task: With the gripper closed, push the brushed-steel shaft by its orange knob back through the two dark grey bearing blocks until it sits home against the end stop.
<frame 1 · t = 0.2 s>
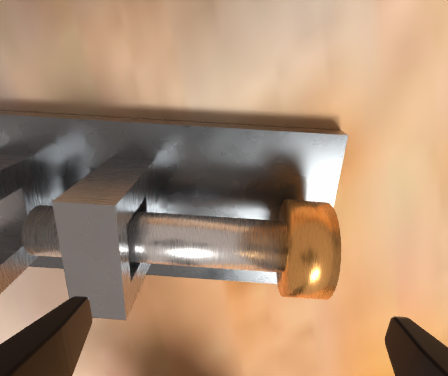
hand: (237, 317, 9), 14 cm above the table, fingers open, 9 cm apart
bearing frame: (141, 197, 24), on the table
shaft: (179, 239, 18), point 5 cm above the table, slide at 8.0 cm
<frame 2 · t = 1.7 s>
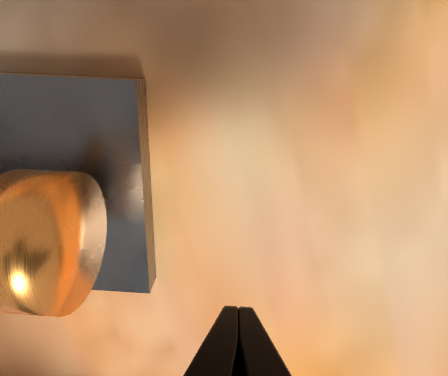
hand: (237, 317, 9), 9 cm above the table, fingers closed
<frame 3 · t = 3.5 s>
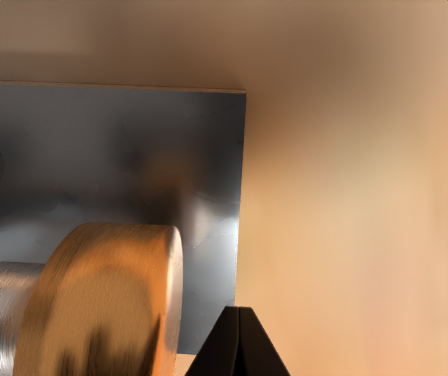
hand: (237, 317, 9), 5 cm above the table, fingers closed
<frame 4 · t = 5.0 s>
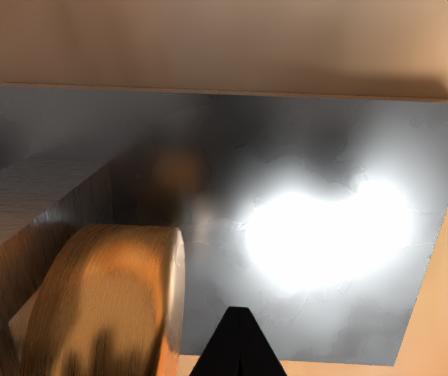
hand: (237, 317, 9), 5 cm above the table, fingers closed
bearing frame: (96, 224, 14), on the table
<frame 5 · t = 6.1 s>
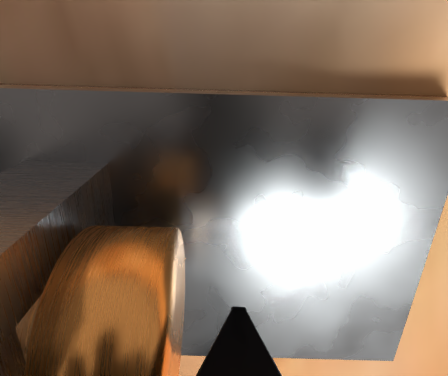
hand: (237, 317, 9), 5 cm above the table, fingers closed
bearing frame: (95, 226, 14), on the table
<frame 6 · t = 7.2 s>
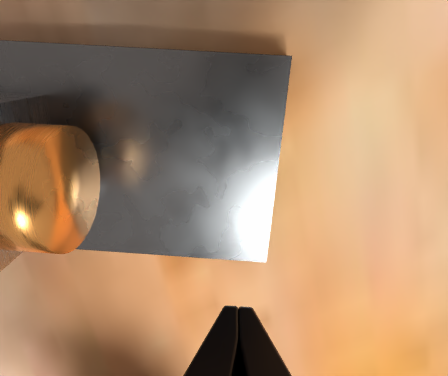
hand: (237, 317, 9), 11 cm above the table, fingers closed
bearing frame: (45, 150, 19), on the table
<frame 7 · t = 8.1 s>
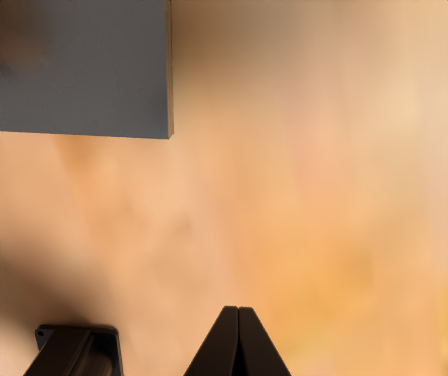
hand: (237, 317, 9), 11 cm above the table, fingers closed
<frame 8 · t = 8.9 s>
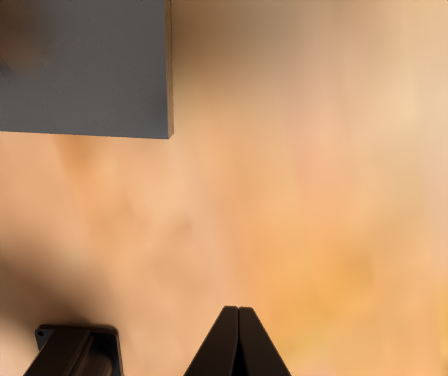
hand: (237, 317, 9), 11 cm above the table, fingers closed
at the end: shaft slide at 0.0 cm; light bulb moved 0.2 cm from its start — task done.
